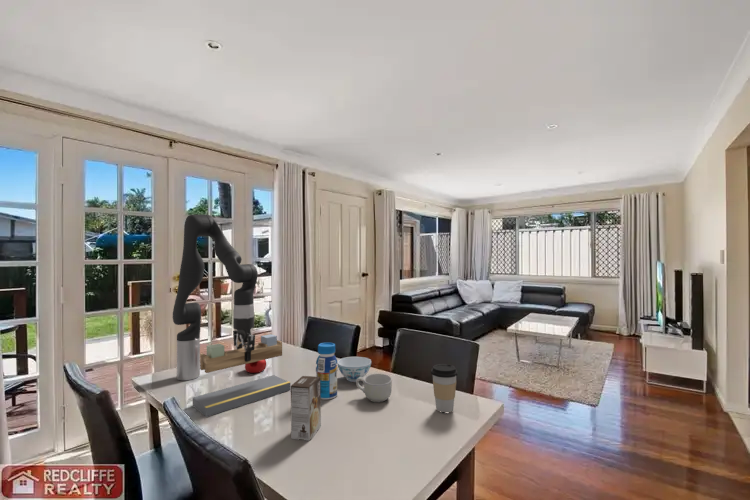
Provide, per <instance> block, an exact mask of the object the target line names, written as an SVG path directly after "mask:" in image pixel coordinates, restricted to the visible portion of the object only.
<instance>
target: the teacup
mask: <svg viewBox="0 0 750 500" xmlns="http://www.w3.org/2000/svg"><path fill="white" fill-rule="evenodd" d="M359 380H360V381H362V384H363V386H362V385H360V381H359ZM392 382H393V378H392V377H391V376H390V375H389V374H386V373H370V374H368V375H367V374H366V375H365V376H364V377H359V378H358V379H357V380H356V382H355V384H356V387H357V388H358V389H359V390H361V391H362V392H363V394H364V395H365V397H366V398H367V399H368V400H369V401H371V402H373V403H383V402H386V401H387V399H389V398H390V397H391V395H392V386H393V385H392Z"/></svg>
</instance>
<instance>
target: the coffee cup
mask: <svg viewBox="0 0 750 500" xmlns="http://www.w3.org/2000/svg"><path fill="white" fill-rule="evenodd" d="M430 374H431V375H432V385H433V387H432V389H433V396H434V402H435V409H437V410H438V411H441V412H451V411H454V409H455V408H454V406H455V405H454V404H455V398H456V389H457V376H458V374H459V373H458V370H457V368H456V366H454V365H452V364H449V363H447V364H446V363H439V364H434V365H433V366H432V368H431V369H430ZM437 410H436V411H437ZM438 411H437V412H438ZM451 413H452V412H451Z"/></svg>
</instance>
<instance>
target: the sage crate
mask: <svg viewBox="0 0 750 500" xmlns="http://www.w3.org/2000/svg"><path fill="white" fill-rule="evenodd" d="M224 351H225V345H224V344H221V343H215V344H208V345H206V355H207V356H209V357H210V358H215V357H220V356H224Z"/></svg>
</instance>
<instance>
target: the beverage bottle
mask: <svg viewBox="0 0 750 500" xmlns="http://www.w3.org/2000/svg"><path fill="white" fill-rule="evenodd" d="M335 353H336V343H333V342H320V343H319V344H318V345H317V354H318V356H317V358H316V361H315V365H316V366H315V372H316V375H315V377H320V388H321V400H323V401H324V400H332V399H335V398H336V397H337V396H338V370H339V368H338V364H337V362H338V359H337V357H336V355H335Z"/></svg>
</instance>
